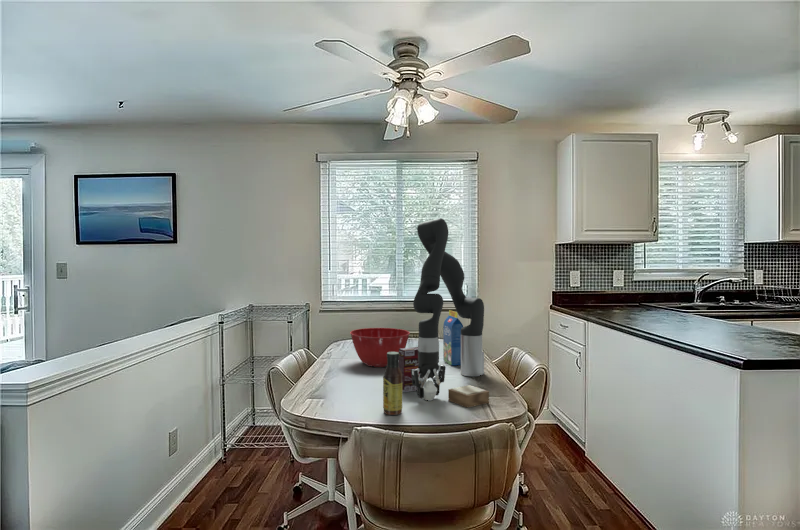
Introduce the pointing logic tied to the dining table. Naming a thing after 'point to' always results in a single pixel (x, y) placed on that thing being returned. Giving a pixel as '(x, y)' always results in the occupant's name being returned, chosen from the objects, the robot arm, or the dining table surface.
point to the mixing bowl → (378, 344)
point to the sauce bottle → (392, 385)
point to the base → (468, 396)
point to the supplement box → (408, 367)
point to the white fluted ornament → (429, 390)
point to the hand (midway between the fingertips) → (428, 396)
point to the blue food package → (452, 339)
